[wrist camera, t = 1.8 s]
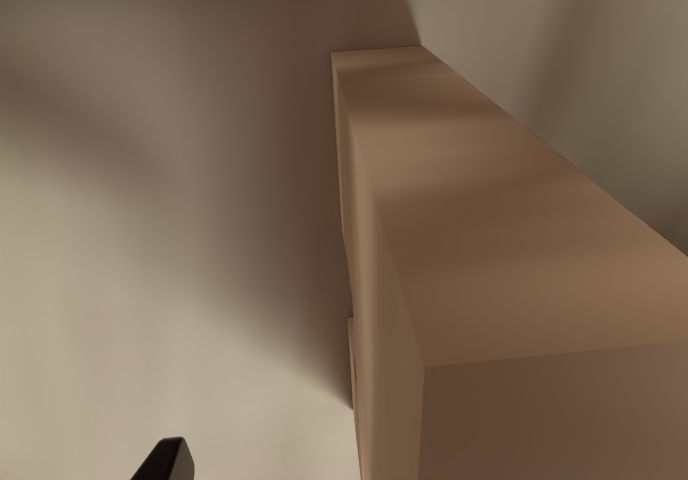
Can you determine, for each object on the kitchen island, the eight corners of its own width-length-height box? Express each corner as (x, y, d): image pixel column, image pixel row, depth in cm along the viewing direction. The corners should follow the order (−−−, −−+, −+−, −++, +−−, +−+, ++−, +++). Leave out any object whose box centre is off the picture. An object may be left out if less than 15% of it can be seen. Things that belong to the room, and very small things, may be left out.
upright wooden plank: (422, 45, 10) (781, 332, 3) (409, 405, 17) (502, 794, 9) (331, 52, 10) (424, 366, 2) (353, 411, 16) (399, 808, 9)
